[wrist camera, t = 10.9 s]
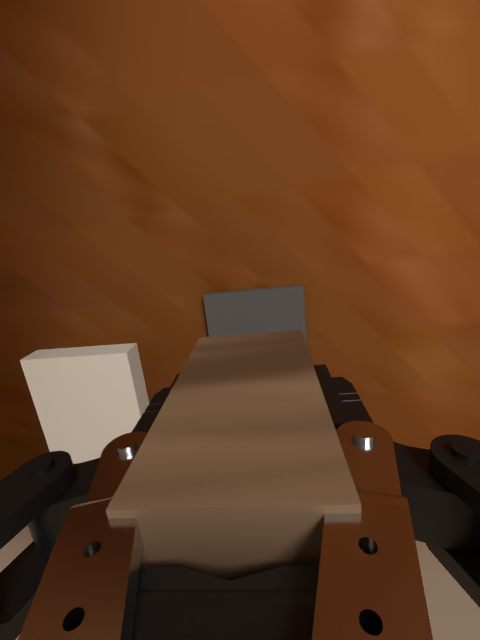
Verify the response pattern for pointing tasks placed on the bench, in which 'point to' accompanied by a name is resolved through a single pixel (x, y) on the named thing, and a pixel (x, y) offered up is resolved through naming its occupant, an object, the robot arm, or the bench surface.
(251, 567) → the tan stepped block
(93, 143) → the bench surface
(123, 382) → the slab tile
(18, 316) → the bench surface
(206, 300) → the mat
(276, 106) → the bench surface
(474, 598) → the robot arm
